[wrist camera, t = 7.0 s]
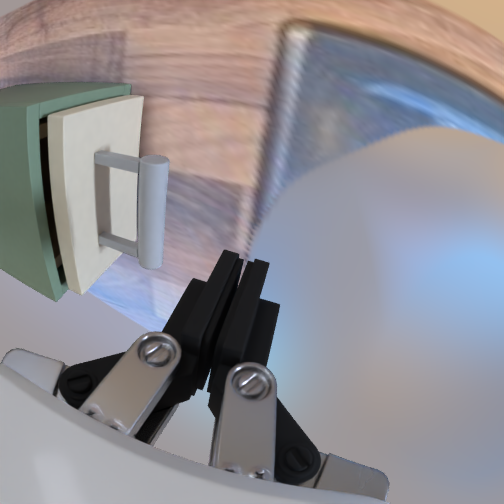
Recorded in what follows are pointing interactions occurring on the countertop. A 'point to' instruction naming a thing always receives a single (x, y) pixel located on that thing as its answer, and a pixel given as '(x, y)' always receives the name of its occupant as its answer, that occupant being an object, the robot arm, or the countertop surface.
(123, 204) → the drawer
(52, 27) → the countertop surface
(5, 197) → the cabinet
